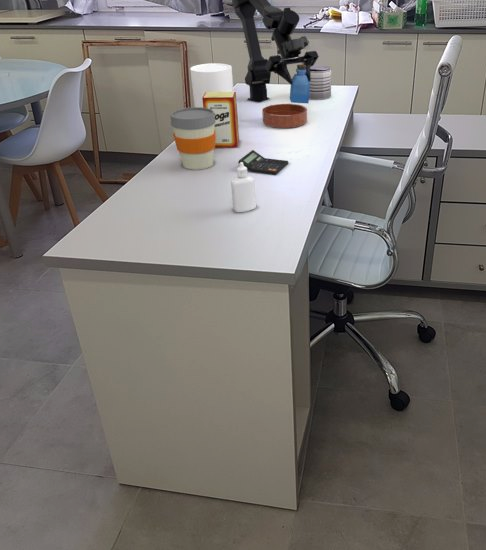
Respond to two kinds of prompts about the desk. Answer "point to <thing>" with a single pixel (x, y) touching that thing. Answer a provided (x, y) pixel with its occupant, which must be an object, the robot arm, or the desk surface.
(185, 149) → the reusable coffee cup
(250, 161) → the calculator
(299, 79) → the perfume bottle
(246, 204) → the eye dropper bottle
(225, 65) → the canister
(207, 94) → the baking soda box
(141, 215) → the desk surface
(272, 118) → the bowl
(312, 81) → the can
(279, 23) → the robot arm
